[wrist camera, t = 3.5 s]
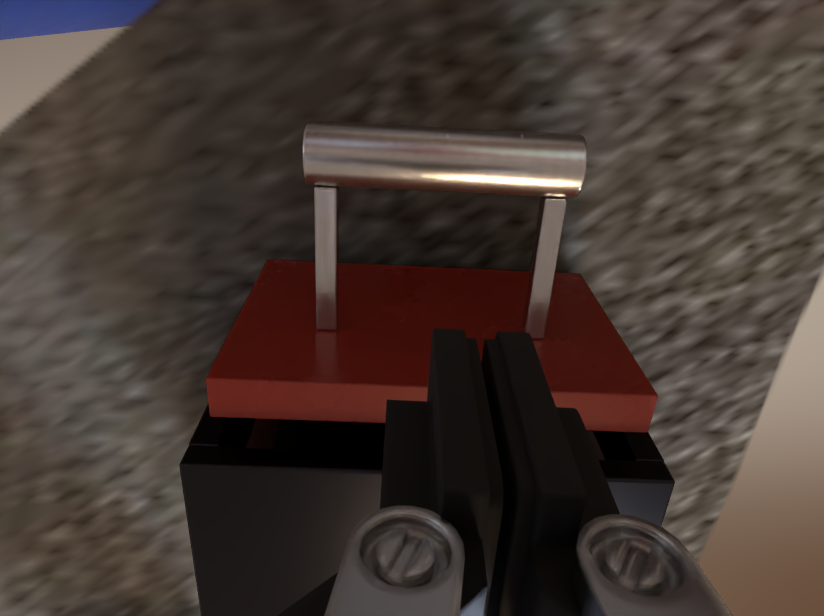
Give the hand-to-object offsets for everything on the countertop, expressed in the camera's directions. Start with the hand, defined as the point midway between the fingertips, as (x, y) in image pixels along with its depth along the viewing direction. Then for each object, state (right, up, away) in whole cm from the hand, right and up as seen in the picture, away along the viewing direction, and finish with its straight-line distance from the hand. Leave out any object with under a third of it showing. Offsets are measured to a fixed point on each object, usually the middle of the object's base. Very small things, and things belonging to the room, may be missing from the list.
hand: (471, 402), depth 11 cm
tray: (-1, 0, +13) cm, 13 cm away
